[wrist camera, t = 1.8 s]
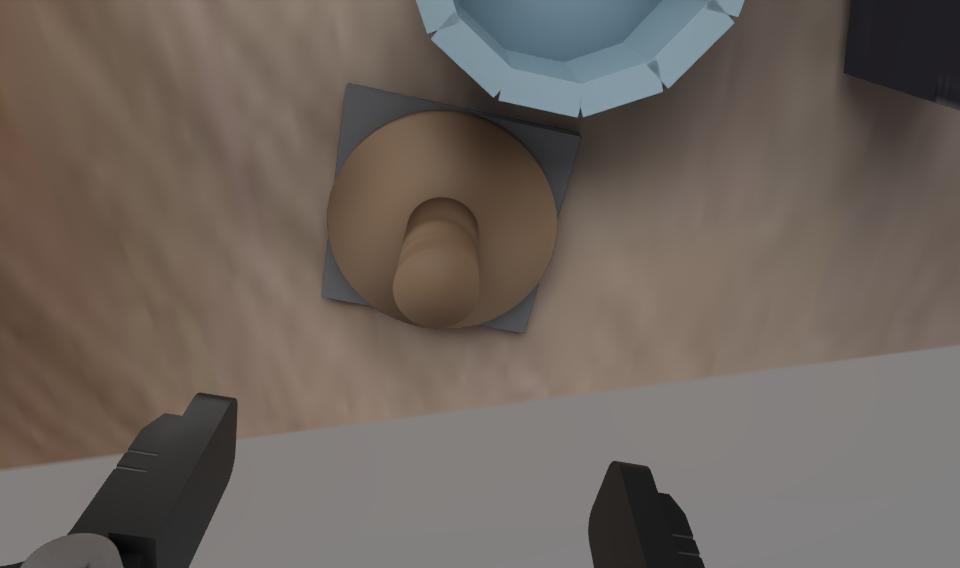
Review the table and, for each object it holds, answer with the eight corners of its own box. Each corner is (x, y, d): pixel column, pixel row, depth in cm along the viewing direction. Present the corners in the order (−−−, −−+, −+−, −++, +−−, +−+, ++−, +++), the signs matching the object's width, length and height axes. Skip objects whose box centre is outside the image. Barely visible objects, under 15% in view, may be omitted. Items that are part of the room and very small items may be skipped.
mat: (324, 290, 28) (321, 297, 28) (348, 83, 24) (345, 86, 24) (523, 326, 29) (524, 333, 29) (578, 132, 25) (581, 136, 25)
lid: (321, 296, 28) (285, 379, 22) (346, 86, 24) (309, 125, 18) (524, 333, 29) (536, 420, 23) (581, 137, 25) (611, 188, 19)
